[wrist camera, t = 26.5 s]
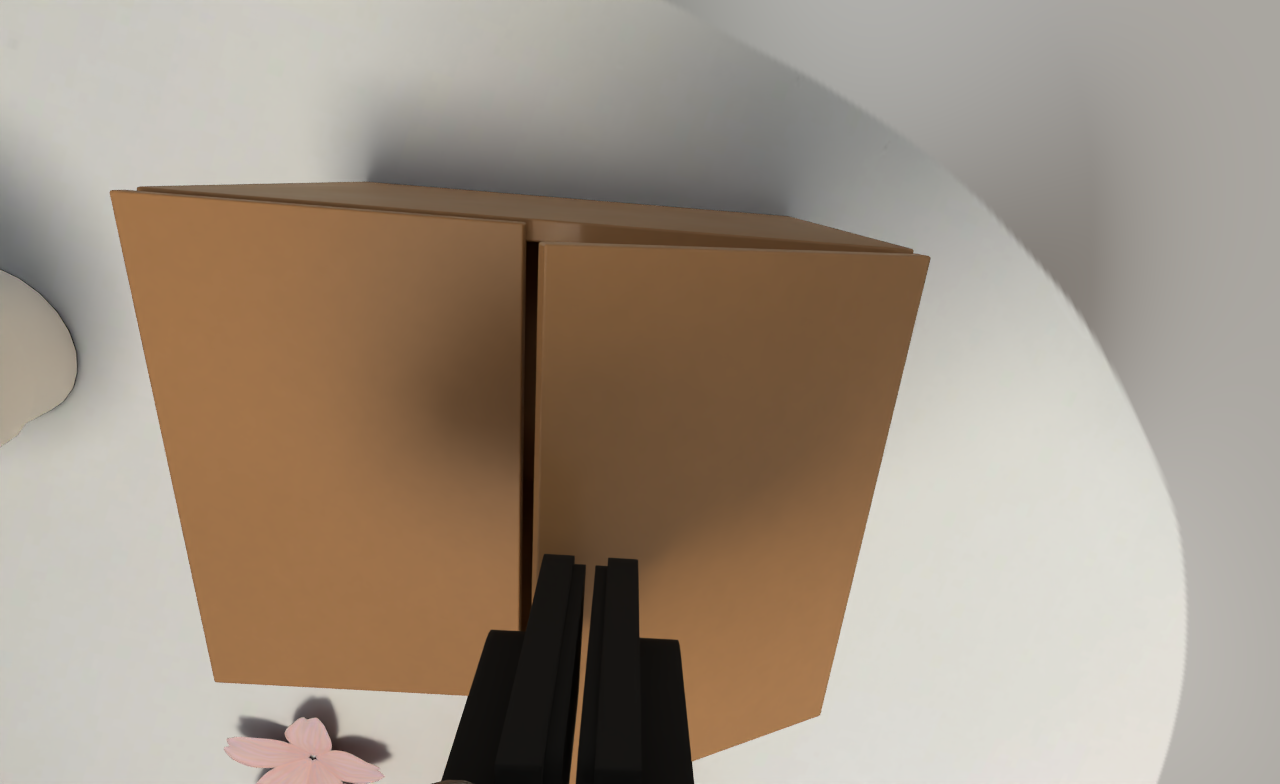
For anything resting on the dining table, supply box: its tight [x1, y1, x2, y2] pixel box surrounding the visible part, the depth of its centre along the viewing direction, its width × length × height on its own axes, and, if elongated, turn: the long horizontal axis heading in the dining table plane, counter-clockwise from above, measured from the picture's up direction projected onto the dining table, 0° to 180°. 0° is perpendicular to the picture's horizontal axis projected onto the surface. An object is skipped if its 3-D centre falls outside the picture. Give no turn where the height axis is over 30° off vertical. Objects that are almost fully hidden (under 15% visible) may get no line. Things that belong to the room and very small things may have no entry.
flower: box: [224, 717, 385, 784], centre depth 33 cm, size 10×10×2 cm
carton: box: [110, 182, 913, 696], centre depth 20 cm, size 17×13×12 cm
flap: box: [532, 241, 930, 784], centre depth 13 cm, size 8×13×1 cm, turn 175°
